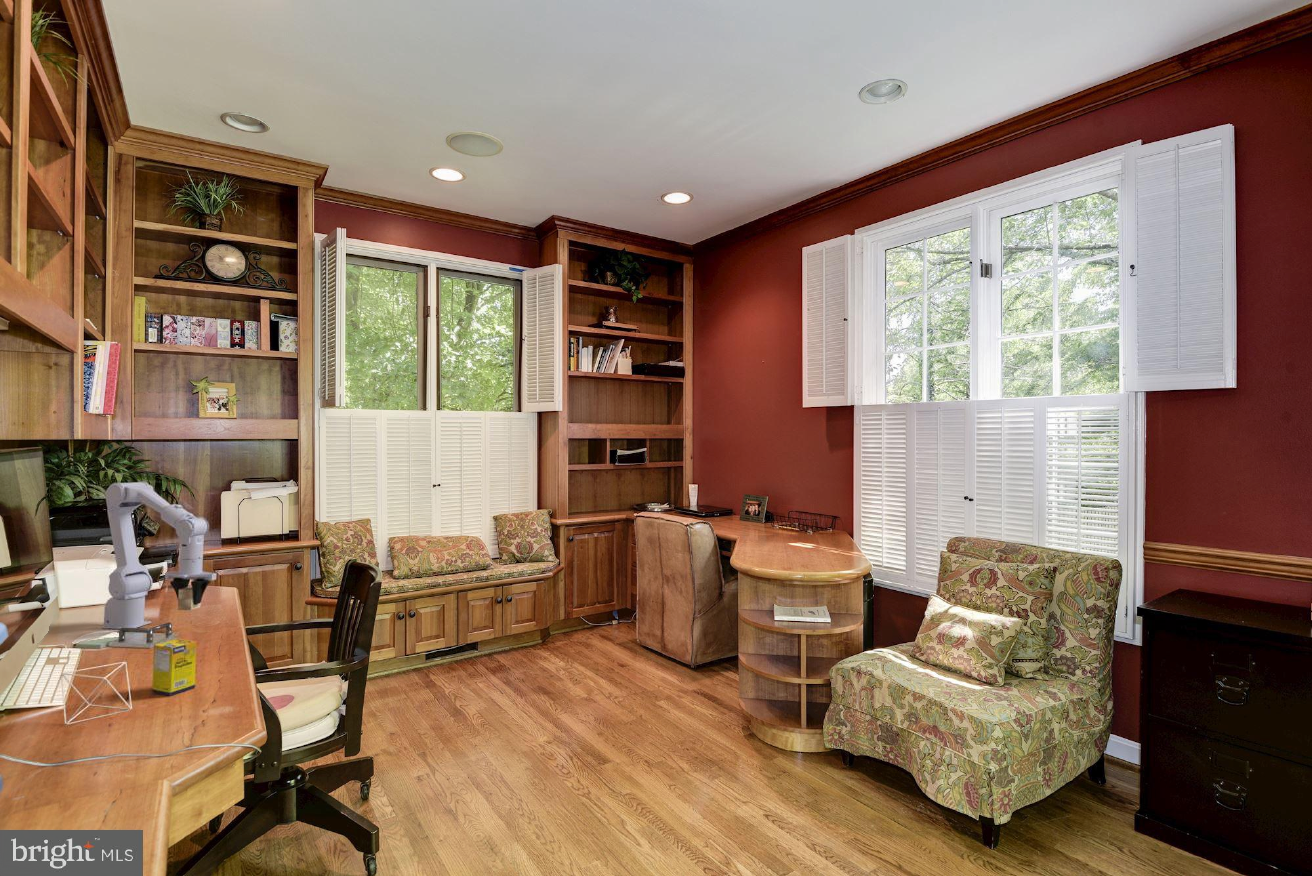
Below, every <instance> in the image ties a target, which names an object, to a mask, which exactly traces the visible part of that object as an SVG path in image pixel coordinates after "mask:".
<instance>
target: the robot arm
mask: <svg viewBox="0 0 1312 876" xmlns="http://www.w3.org/2000/svg"><path fill="white" fill-rule="evenodd" d="M104 495H105V501H106V507H107V519H108V523H109V528H110V535H111V541H112V546H113V551H114V558H115V565H116V568H115V569H114V570H113V571H112V572H111V573H110V574H109V575H108V579H109V581H108V582H109V583H108V587H107V589H108V592H109V594H110V596H111V597H110V598H109V599H107V601H106V603H105V604H104V611H103V613H104V614H103V615H104V616H103V626H101V629H109V628H110V629H111V630H113V629H115V630H116V629H117V630H120V629H121V628H122V627H125V628H141V627H143V626H145V625H149V624H151V623H152V621H149V620H145V610H146V609H145V605H146V596H148V592H149V591H150V590H151V589H152V587H153V582H154V581H153V578H152V576H151V575H150V573H149V569H148V567H146V566H145V565H143V564H142V563H140V559H139V554H138V549H137V543H136V536H135V531H134V526H133V520H132V513H133V512H134V510H136V509H137V508H139V507H141V505H143V504H144V505H145V506H147V507H148V508H150V509H153V510H154V511H156V512H157V513H159V514H160V519H161V520H162V521H164V522H165V523H166V524H167V525H169V526H171V527H172V528H174V530H175V532H176V535H177V537H178V543H179V545H180V550H179V551H180V552H179V570H177V571H172V570H171V571H166V572H164V579H165V580H171V579H173V580H171V581H169V583H170V584H169V585H170V586H171V587H172V589H173V590H174V593H175V595H176V598H177V599H178V598H179V589H183V588H186V587H189V584H191V587H192V589H193V603H194V604H199V603H201V604H202V599H203V596H204V593H205V591H206V589H207V587H208V586H209V584H210V583H211V582H212V581H215V580H217V572H210V571H209V572H208V571H203V561H204V560H203V559H204V541H205V540H204V539H205V538H204V537H205V536H206V535H207V534H208V533H209V529H210V524H209V521H208V520H207V519H206V518H205V517H203V516H199V517H197V516H195V515H194V514H193V513H191V512H189V511H187V510H186V509H185V508H183V506H182V505H181V504H177V503H175V504H170V503H169V502H168V501H167V500H165V499H164V498H163V497H162V496H160V495H159V494H158V493H157V492H156V491H155V490H154V487H153V486H152V485H151V484H149V483H148V482H146V481H137V482H136V481H135V482H134V481H133V482H113V483H111V484H110V485H109V486H108V488H107V489H106V490H105V492H104ZM192 580H194V581H192Z"/></svg>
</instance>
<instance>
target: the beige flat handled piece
mask: <svg viewBox="0 0 1312 876" xmlns="http://www.w3.org/2000/svg"><path fill="white" fill-rule="evenodd" d="M163 629H165V633H161V632H159V633H158V632H157V631H160V630H163ZM172 629H173V624H172V623H171V622H169V621H168V622H165V623H162V624H159V625H156V626H153V627H151V628H150V627H149V628H148V627H145V628H144V627H137V628H125V627H122V628H121V629H118V630H119V639H117V640H114V641H111V642H109V646H108V647H109V648H110V647H111V648H113V647H114V648H133V649H134V648H137V649H139V648H140V649H152V648H153V649H154V645H156V644H160V643H164V642H168V641H172V640H176V639H179V634H178V633H173V632H172V631H173V630H172ZM125 632H137V633H135V634H132V635H129V636H126V637H125Z"/></svg>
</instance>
